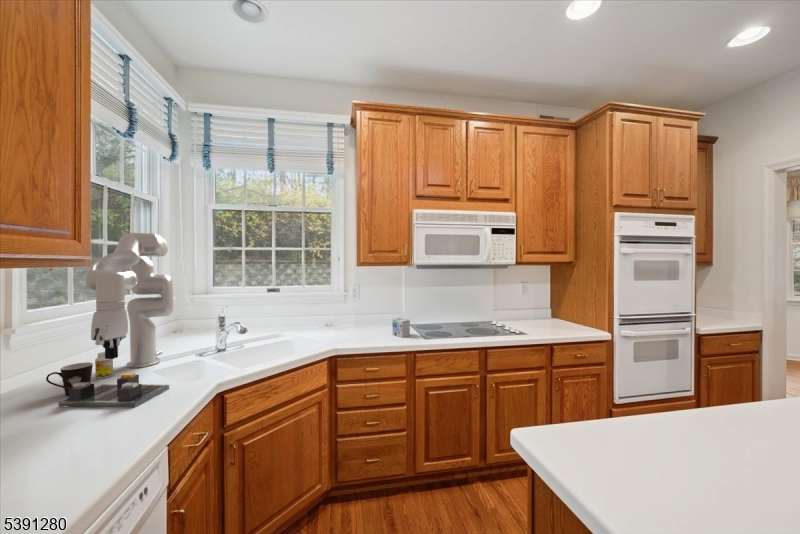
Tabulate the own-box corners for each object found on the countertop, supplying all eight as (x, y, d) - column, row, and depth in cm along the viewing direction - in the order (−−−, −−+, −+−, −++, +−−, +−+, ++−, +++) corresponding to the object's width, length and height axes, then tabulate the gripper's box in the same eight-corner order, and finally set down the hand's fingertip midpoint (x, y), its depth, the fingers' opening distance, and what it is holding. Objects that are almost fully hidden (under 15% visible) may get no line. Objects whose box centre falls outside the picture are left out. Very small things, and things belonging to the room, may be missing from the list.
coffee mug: (99, 387, 127) (98, 361, 127) (81, 396, 118) (81, 369, 118) (64, 389, 125) (64, 363, 125) (44, 398, 116) (43, 370, 116)
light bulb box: (392, 334, 217) (392, 318, 217) (399, 333, 222) (399, 317, 222) (402, 337, 209) (402, 321, 209) (410, 336, 214) (410, 319, 213)
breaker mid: (128, 384, 125) (128, 371, 125) (138, 384, 125) (138, 371, 125) (117, 390, 120) (116, 376, 120) (127, 390, 120) (127, 376, 120)
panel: (102, 388, 126) (102, 371, 126) (169, 388, 125) (169, 371, 125) (58, 406, 110) (58, 387, 110) (134, 407, 109) (134, 387, 109)
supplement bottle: (93, 377, 137) (92, 353, 137) (109, 373, 142) (109, 350, 142) (98, 379, 135) (98, 355, 135) (115, 375, 140) (115, 352, 139)
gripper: (118, 303, 122) (119, 352, 123) (78, 309, 107) (80, 364, 108) (138, 303, 122) (139, 352, 123) (101, 309, 107) (102, 365, 108)
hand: (111, 358), depth 115 cm, fingers closed
